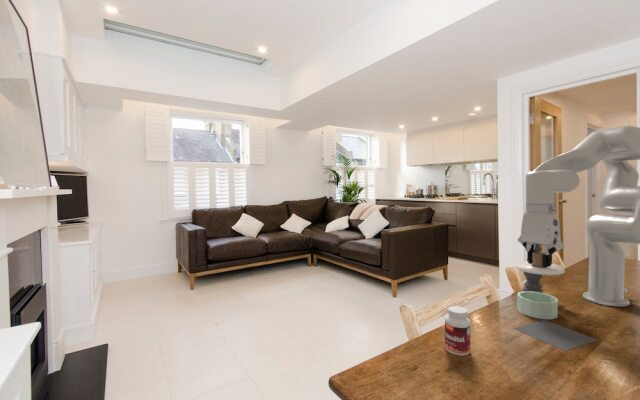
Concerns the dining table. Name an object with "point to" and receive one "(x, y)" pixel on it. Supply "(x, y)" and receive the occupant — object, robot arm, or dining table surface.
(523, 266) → the lid
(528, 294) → the bowl
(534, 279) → the candle holder
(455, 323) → the pill bottle
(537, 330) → the mat
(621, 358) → the dining table surface
